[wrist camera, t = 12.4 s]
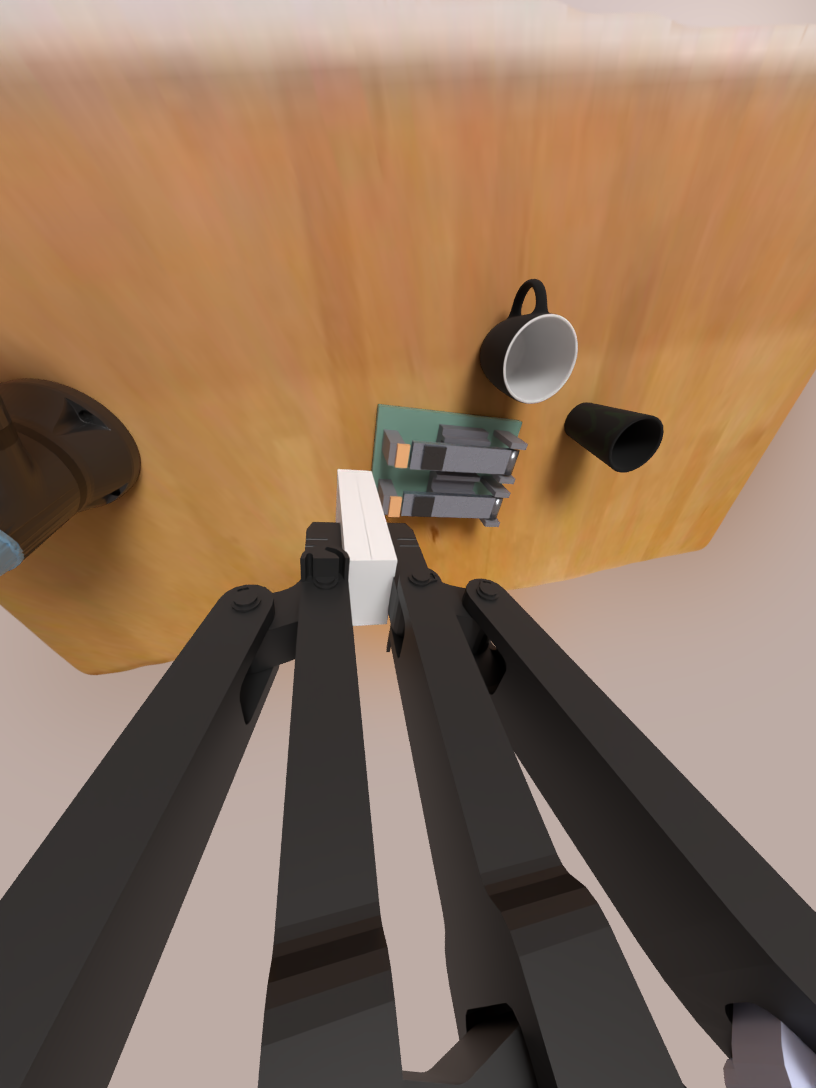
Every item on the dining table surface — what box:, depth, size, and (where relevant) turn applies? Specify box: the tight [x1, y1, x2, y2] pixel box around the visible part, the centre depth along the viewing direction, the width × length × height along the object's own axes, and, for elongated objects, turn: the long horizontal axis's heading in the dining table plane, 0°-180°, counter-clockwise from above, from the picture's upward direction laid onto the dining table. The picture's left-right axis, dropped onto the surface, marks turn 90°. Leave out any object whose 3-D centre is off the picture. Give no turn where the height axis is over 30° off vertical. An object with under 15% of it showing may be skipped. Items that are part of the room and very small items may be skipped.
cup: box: [565, 403, 663, 472], centre depth 49 cm, size 8×8×12 cm
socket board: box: [372, 404, 528, 527], centre depth 50 cm, size 22×16×8 cm
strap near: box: [408, 440, 519, 475], centre depth 46 cm, size 16×4×2 cm, turn 81°
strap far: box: [400, 491, 503, 520], centre depth 51 cm, size 16×4×2 cm, turn 81°
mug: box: [480, 279, 578, 404], centre depth 40 cm, size 12×9×10 cm
